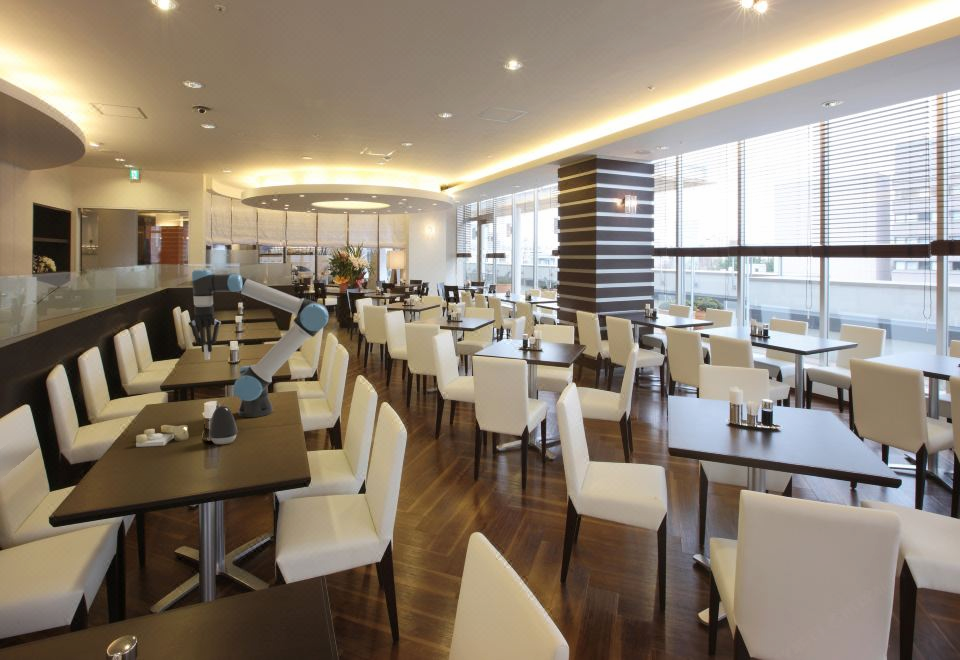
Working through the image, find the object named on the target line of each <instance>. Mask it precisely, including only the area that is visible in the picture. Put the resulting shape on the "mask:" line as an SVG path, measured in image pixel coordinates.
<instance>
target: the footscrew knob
mask: <svg viewBox="0 0 960 660" xmlns="http://www.w3.org/2000/svg"><path fill="white" fill-rule="evenodd" d="M160 430H161V433H167V434H174V438H173V439H174V441H175V442H183V441H186V440H189V427H188V425H186V424H182V425H169V424H163V425H161V426H160Z"/></svg>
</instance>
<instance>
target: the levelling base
mask: <svg viewBox="0 0 960 660" xmlns="http://www.w3.org/2000/svg"><path fill="white" fill-rule="evenodd" d="M155 430H156V429H155V428H148V429H147V428H146V429H144V430H143V434H137V435H136V436H135V439H136V443H135V446H136V448H139V447H142V448H143V447H158V446H165V445H167V444H168V443H169V442H170V441H172V439H175V438H174V433H162V432H161V433H159V432H157V433H156V431H155Z"/></svg>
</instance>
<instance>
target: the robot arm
mask: <svg viewBox="0 0 960 660" xmlns="http://www.w3.org/2000/svg"><path fill="white" fill-rule="evenodd" d="M191 277H192V279H191V284H192V293H193V305H194V307H193V309H194V311H193V312H194V318H193V320H192V321H190V322H188V326H190V328H191V331H192V333H193V336H194V340H195V342H196V344H199V345H200V347H201V352H202V353H203V355H204V357H203V358H204V361H209V360H211V353H212V352H213V345H214V344H216V342H217V339H218V334H219V328H220V325H221V324H222V321H221V320H217V319H216V318H217V317H215V311H214V306H213V305H214V293H217V292H223V293H226V292H229V293H230V292H231V293H235V292H236V293H238V294H241V295H244V296H247V297H249V298H252V299H255V300H256V301H259V302H262V303H265V304H268V305H270V306H273V307H276V308H279V309H280V310H283V311H286V312H288V313H291V314H293V315H294V316H295V318H294V319H293V321H292V323H293V324H292V326H291V327H290V328H289V329H288V330H287V331H286V332H285V333H284V334H283V335H282V337H280V339H279V340H278V341H277V342H276V343H275V344H274V345H273V346H272V347H271V348H270V349H269V350H268V351H267V353H266V354H265V355H264V356H263V357H262V358H261V359H260V360H259V361H258V362H257V363H256V364H251V365H245V366H244V365H243V366H241V367H240V369H239V374H240V375H239V377H238V378H237V379H236V380H235V381H234V386H233V392H234V394H235V396H236V397H237V398H238V399H240V403H239V407H238V416H239V417H242V418H258V417H264V416H268V415H270V414H272V413H273V410H274V408H273V405H272V402H271V400H270V398H269V388H268V386H270V384H271V383H272V382H273V380H272V377H273V376H274V375H275V374H276V373H277V372H278V370H280V368H282V366H283V365H284V364H285V363H286V362H287V361H288V360H289V359H290V358H291V357H292V356H293V355H294V353H295V352H297V350H298V349H299V348H300V347H301V346H302V345H303V344H304V343H305V342H306V341H307V339H309V338H314V337H316V335H317V334H318V333H319V332H320V331H321V330H322V329H324V328H325V327H326V325H327V324H328V322H329V309H328V308H327V307H326V305H324V304H323V303H322V302H317V301H314V300H310V299H307V298H304V297H302V298H299V297H296V296H293V295H291V294H289V293H286V292H283V291H281V290H278V289H276V288H273V287H270V286H267V285H265V284H262V283H259V282H257V281H254V280H251V279H249V278H246V277H244V276H242V275H240V274H237V273H235V272H234V273H233V272H232V273H227V274H213V273H212V271H211V270H210V269H204V270H203V269H197V270H196V269H195V270H193V271H192V272H191ZM213 324H214V327H213V333H212V326H213ZM197 326H198V327H199V328H198V327H197ZM198 329H199V330H198Z"/></svg>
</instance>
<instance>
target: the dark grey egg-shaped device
mask: <svg viewBox="0 0 960 660" xmlns="http://www.w3.org/2000/svg"><path fill="white" fill-rule="evenodd" d="M215 407H216V408H215V409H214V411H213V412H212V413H213V414H212V416H211V420H210V424H209V430H208V432H209V433H208V435H209V438H210V441H211V442H213V444H215V445H229V444H231V443H232V442H234V441H235V439H236V437H237V434H238V428H237V427H238V426H237V423H236V420H235V417H234V415H233V412H232V411H231V409H230V408H229V407H227V406H226V405H220V406H219V405H216V406H215Z"/></svg>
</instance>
